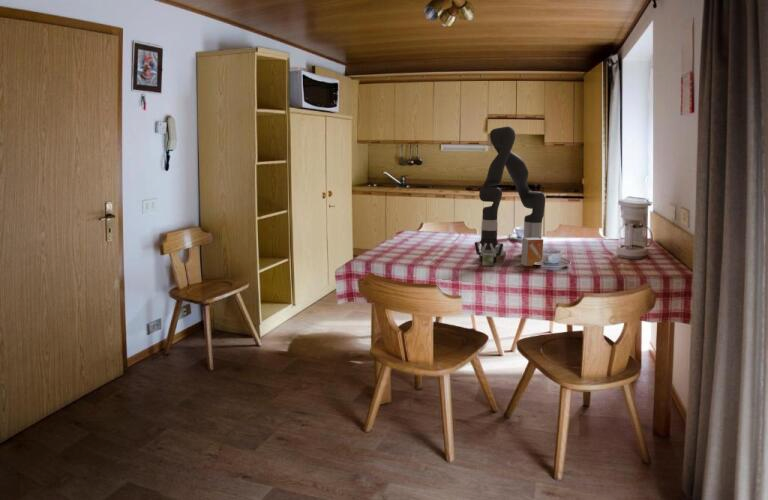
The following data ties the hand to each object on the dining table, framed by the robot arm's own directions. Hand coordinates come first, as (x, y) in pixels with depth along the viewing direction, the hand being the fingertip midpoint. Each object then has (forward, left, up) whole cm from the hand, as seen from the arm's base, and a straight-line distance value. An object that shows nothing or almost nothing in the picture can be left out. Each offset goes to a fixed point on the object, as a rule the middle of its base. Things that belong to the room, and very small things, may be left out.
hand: (488, 263), depth 292 cm
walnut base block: (0, -15, -1) cm, 15 cm away
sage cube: (0, 0, 0) cm, 0 cm away
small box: (-20, -8, -1) cm, 21 cm away
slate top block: (0, -15, +3) cm, 15 cm away
